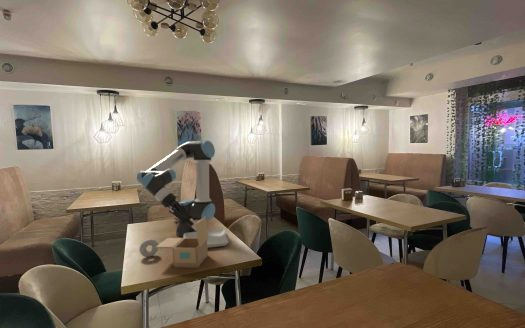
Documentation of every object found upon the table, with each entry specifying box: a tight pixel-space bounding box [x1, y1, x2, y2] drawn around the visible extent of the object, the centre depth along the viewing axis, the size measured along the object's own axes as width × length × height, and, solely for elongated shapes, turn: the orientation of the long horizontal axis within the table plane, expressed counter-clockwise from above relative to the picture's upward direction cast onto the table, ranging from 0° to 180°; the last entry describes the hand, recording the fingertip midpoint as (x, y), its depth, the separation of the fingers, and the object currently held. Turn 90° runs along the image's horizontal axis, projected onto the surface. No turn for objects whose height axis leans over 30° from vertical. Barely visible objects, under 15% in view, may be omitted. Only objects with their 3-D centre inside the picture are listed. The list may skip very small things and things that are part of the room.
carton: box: [156, 237, 209, 269], centre depth 142 cm, size 16×22×10 cm
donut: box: [139, 238, 159, 258], centre depth 150 cm, size 10×4×10 cm, turn 124°
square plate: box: [182, 228, 229, 249], centre depth 170 cm, size 27×27×4 cm
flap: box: [196, 216, 208, 247], centre depth 140 cm, size 13×12×1 cm
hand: (198, 228), depth 140 cm, fingers closed
